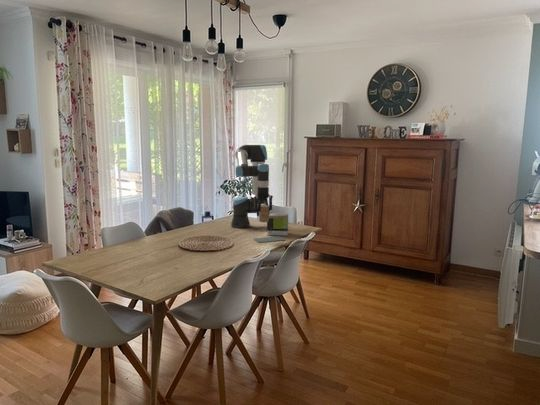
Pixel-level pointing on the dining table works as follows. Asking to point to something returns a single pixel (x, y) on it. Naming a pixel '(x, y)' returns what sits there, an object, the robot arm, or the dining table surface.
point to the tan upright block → (264, 213)
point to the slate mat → (269, 239)
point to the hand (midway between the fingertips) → (262, 220)
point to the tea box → (277, 224)
